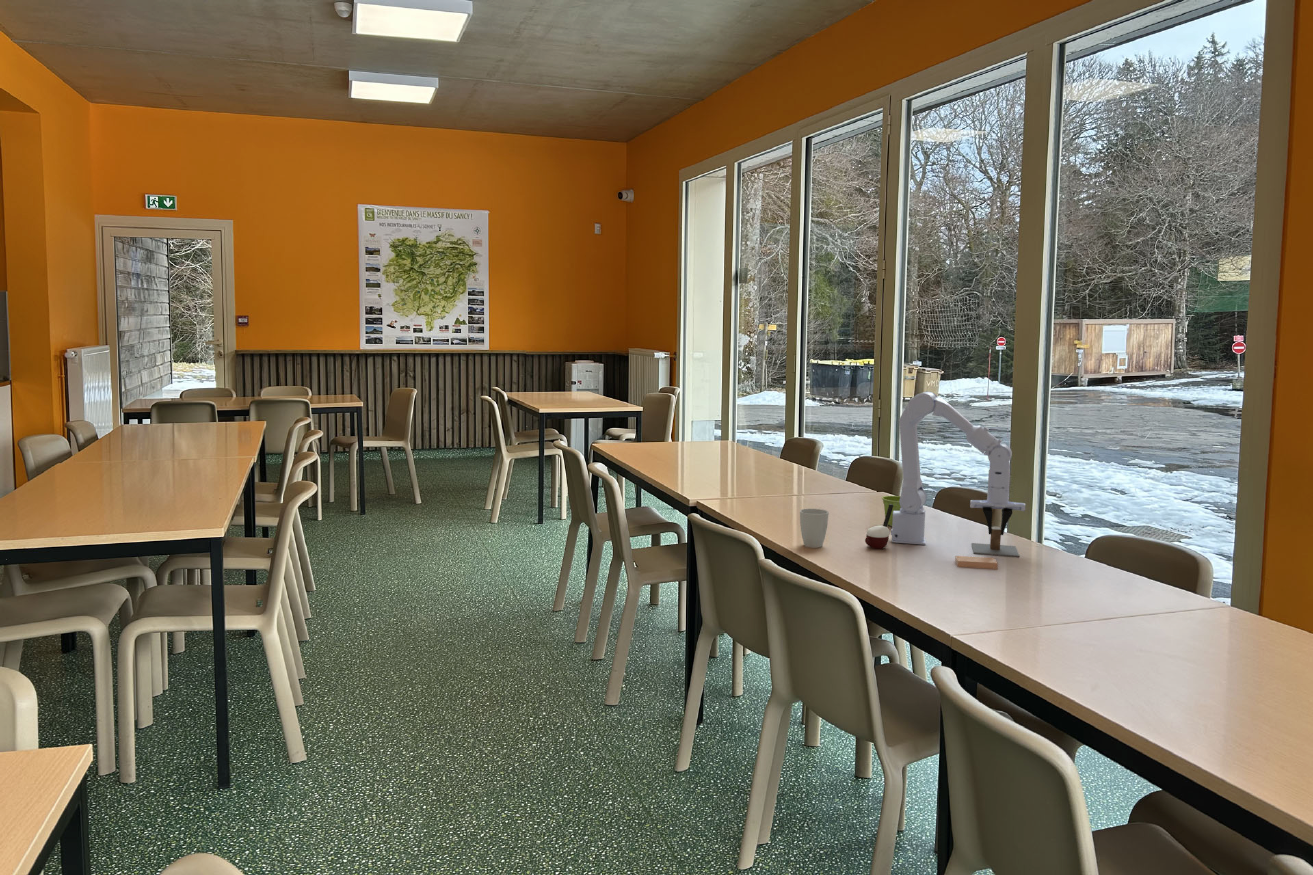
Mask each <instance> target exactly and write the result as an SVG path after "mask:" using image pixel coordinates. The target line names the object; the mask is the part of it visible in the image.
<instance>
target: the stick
mask: <svg viewBox="0 0 1313 875" xmlns="http://www.w3.org/2000/svg"><path fill="white" fill-rule="evenodd" d="M1001 539H1002V535H1001V526H992V534H990V540H989V541H990V542H989V544H990V549H993V550H1000V545H1001V541H1002V540H1001Z"/></svg>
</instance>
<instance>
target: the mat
mask: <svg viewBox="0 0 1313 875" xmlns="http://www.w3.org/2000/svg"><path fill="white" fill-rule="evenodd" d="M971 547H972V553H973V555H984V556H985V555H986V556H999V557H1001V556H1002V557H1012V558H1013V557H1014V558H1020V554H1019V551H1018V549H1017V547H1016V545H1004V544H1003V545H1002V544H1000V550H993V549H990V543H977V542H975V543H974V542H971Z"/></svg>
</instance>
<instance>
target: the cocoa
mask: <svg viewBox="0 0 1313 875" xmlns="http://www.w3.org/2000/svg"><path fill="white" fill-rule="evenodd" d="M892 509H893V504H889V507H888V510H887V513H886V517H885V516H884V521H883V524H882V525H874V526H872V527H870V528H868V529H867V530H866V537H865V538H864V542H865V544H866V545H867V546H868V547H870V548H871V549H874V550H875V549H876V550H882V549H884V548H886V547H887V546H888V543H889V537H890V535H891V530H890V529H889V527H888V526H889V525H888V522H889V519H890V515H891V512H892Z"/></svg>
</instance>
